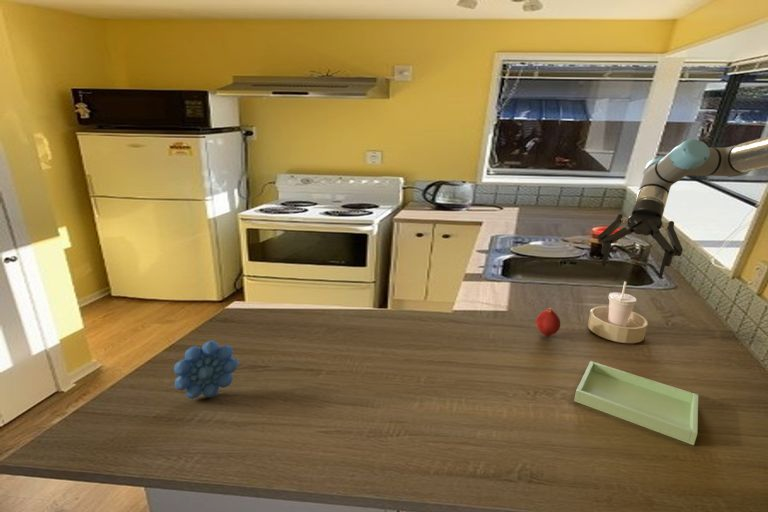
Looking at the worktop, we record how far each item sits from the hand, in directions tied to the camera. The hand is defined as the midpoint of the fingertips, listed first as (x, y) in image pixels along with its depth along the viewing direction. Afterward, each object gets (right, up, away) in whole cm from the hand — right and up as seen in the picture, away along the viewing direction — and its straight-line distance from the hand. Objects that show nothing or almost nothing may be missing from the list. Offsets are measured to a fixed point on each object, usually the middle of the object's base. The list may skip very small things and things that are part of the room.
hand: (631, 269), depth 114 cm
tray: (-17, -26, -30) cm, 43 cm away
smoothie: (-5, -16, -2) cm, 17 cm away
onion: (-25, -17, -5) cm, 31 cm away
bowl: (-5, -17, -2) cm, 17 cm away
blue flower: (-101, -24, -31) cm, 108 cm away
